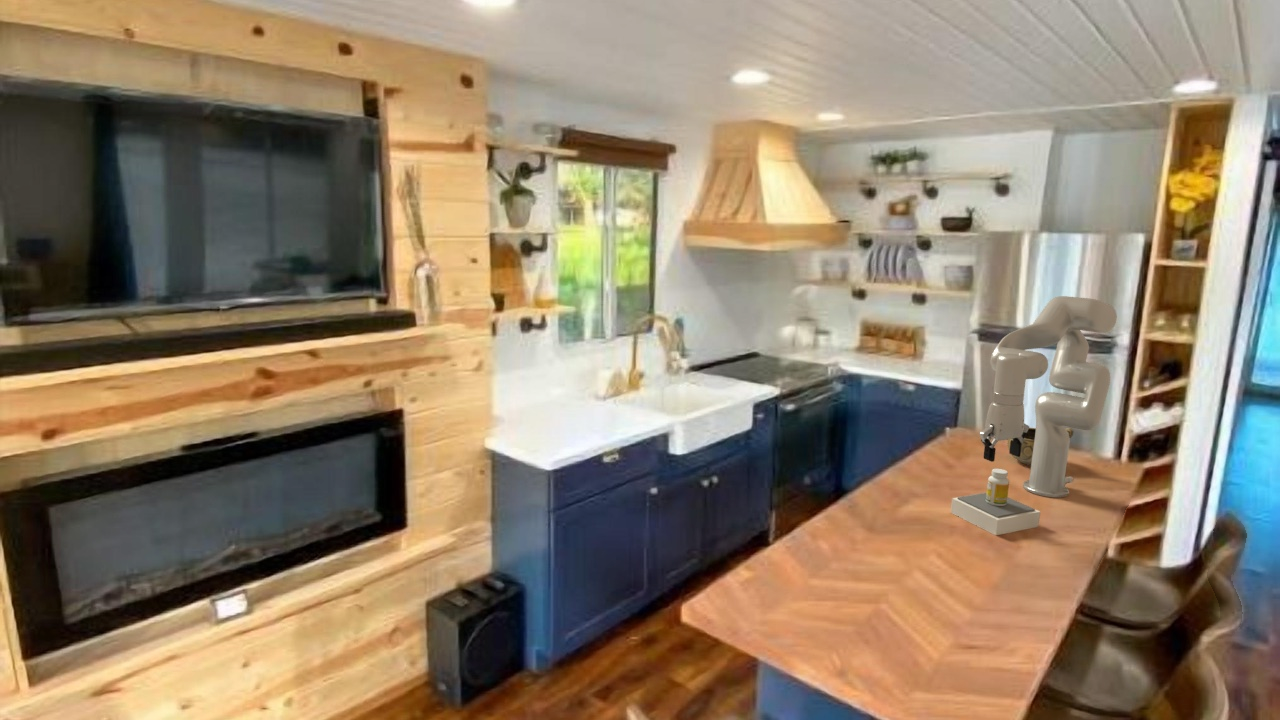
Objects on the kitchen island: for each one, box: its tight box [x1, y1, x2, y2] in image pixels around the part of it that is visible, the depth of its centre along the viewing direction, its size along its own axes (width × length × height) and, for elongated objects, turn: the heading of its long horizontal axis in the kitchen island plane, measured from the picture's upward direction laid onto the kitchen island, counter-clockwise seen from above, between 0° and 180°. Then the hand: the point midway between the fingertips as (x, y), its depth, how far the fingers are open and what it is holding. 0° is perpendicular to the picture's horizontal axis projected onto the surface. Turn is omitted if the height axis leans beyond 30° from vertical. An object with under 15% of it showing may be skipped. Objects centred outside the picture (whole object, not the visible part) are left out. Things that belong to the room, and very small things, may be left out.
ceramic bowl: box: [1007, 427, 1074, 467], centre depth 249 cm, size 22×17×15 cm
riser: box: [950, 491, 1041, 536], centre depth 203 cm, size 16×16×5 cm
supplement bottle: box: [986, 468, 1010, 506], centre depth 202 cm, size 5×5×10 cm
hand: (1001, 457), depth 200 cm, fingers open, 9 cm apart
